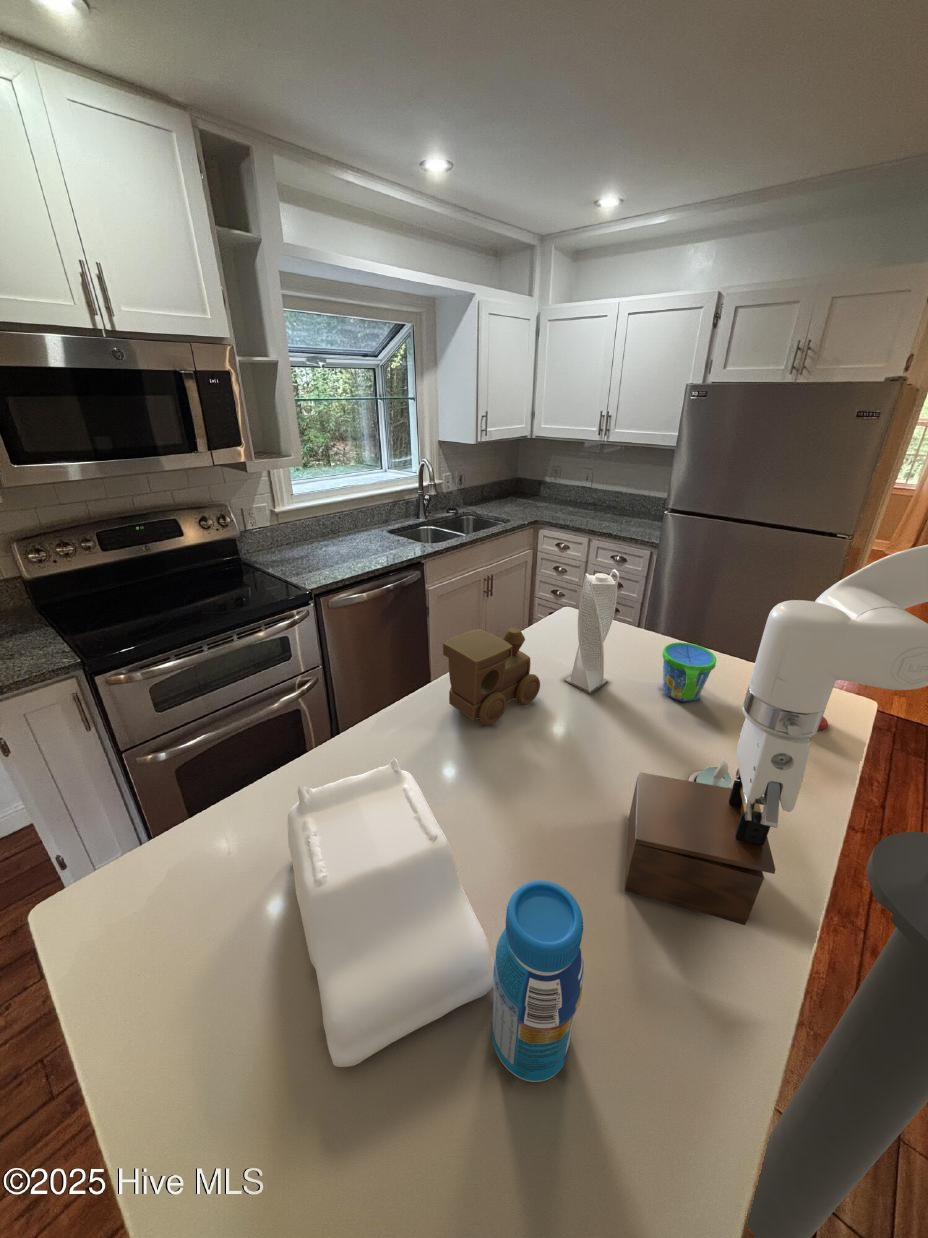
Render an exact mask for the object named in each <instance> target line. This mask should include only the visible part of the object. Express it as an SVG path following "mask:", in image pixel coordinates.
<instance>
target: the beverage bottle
mask: <svg viewBox="0 0 928 1238" xmlns="http://www.w3.org/2000/svg"><path fill="white" fill-rule="evenodd" d="M583 933H584V917H583V913H582V910H581V907H580V905H579V903H578V902H577V900H576V899H575V897H574V896H573V895H572V893H571V892H570V891H568V890H567V889H566V888H565V887H563V886H561V885H559V884H557V883H555V882H552V881H549V880H543V879H539V880H538V879H537V880H531V881H527V882H525V883H524V884H522V885H520V886H518V887H517V888H516V889H515V891H514V892H512V894H511V896H510V898H509V901H508V903H507V906H506V915H505V927H504V929H503V930H502V932H501V934H500V936H499V939H498V941H497V944H496V948H495V959H494V969H493V982H494V986H493V1000H492V1001H493V1003H492V1004H493V1006H492V1017H491V1029H490V1031H491V1039H492V1044H493V1048H494V1050H495V1053H496V1055H497V1057H498V1059H499V1061H500V1062H501V1064H502V1065H503V1066H504V1067H505V1068H506V1069H507V1071H509V1072H510V1073H511V1074H512V1075H513V1076H515V1077H517V1078H519V1079H520V1080H523V1081H526V1082H531V1083H539V1082H540V1083H541V1082H544V1081H547V1080H549V1079H551V1078H553V1077H554V1076H556V1075H557V1074H558V1073H559V1072H560V1071H561V1069H562V1068H563V1067H564V1065H565V1063H566V1061H567V1059H568V1056H569V1052H570V1048H571V1042H572V1041H571V1040H572V1039H571V1038H572V1037H571V1035H572V1030H573V1024H574V1019H575V1015H576V1012H577V1010H578V1009H579V1006H580V1003H581V1000H582V999H581V998H582V995H583V994H582V992H583V981H584V977H585V976H584V975H585V974H584V973H585V965H584V964H585V963H584V958H583V953H582V949H581V944H582V939H583Z"/></svg>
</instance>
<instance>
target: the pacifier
mask: <svg viewBox="0 0 928 1238" xmlns="http://www.w3.org/2000/svg"><path fill="white" fill-rule="evenodd" d="M721 779H724V781H722V780H721ZM687 781H692V782H698V783H703V784H709V785H715V786H720V787H726V788H730V786H731V784H732V777H731V774H730V773H729V765H728V763H727V762H726V761H725V760H724V761H722V762H721V763H720V764H719V765H718V766H710V767H707V768H704V769H703V770H697V771H695V772H693V773H691V774H690V776H689V778H688V780H687Z"/></svg>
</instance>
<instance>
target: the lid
mask: <svg viewBox="0 0 928 1238" xmlns="http://www.w3.org/2000/svg"><path fill="white" fill-rule="evenodd" d="M637 777H638V782H637V808H636V834H635V843H636V844H640V845H645V846H649V847H654V848H658V849H663V850H668V851H672V852H677V853H681V854H686V855H690V856H695V857H699V858H704V859H709V860H713V861H718V862H722V863H727V864H731V865H736V866H740V867H745V868H749V869H754V870H759V871H762V872H763V873H767V874H773V875H775V873H776V870H777V869H776V865H775V861H774V857H773V854H772V850H771V845H770V841H769V838H768V836H767V838H766V841H765V843H764V845H762V846H760V845H756V844H752V843H747V842H743V841H739V840H736V838H735V832H736V829H737V826H738V823H739V819H740V816H741V813H745V810H746V805H747V798H746V796H745V793H744V789H743V786H742V787H741V788H740V793H741V798H742V805H741V808H738V807H734V806H731V805H729V797H730V794H731V790H732V787H731V788H730V787H728V788H726V787H720V786H715V785H709V784H703V783H698V782H696V781H694V782H692V781H688V780H686V779H679V778H675V777H669V776H663V775H657V774H653V773H648V772H647V773H646V772H642V771H641V772H640V771H638V772H637ZM754 811H757V812H762V810H761V805H760V804H756V803H755V806H754Z"/></svg>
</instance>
